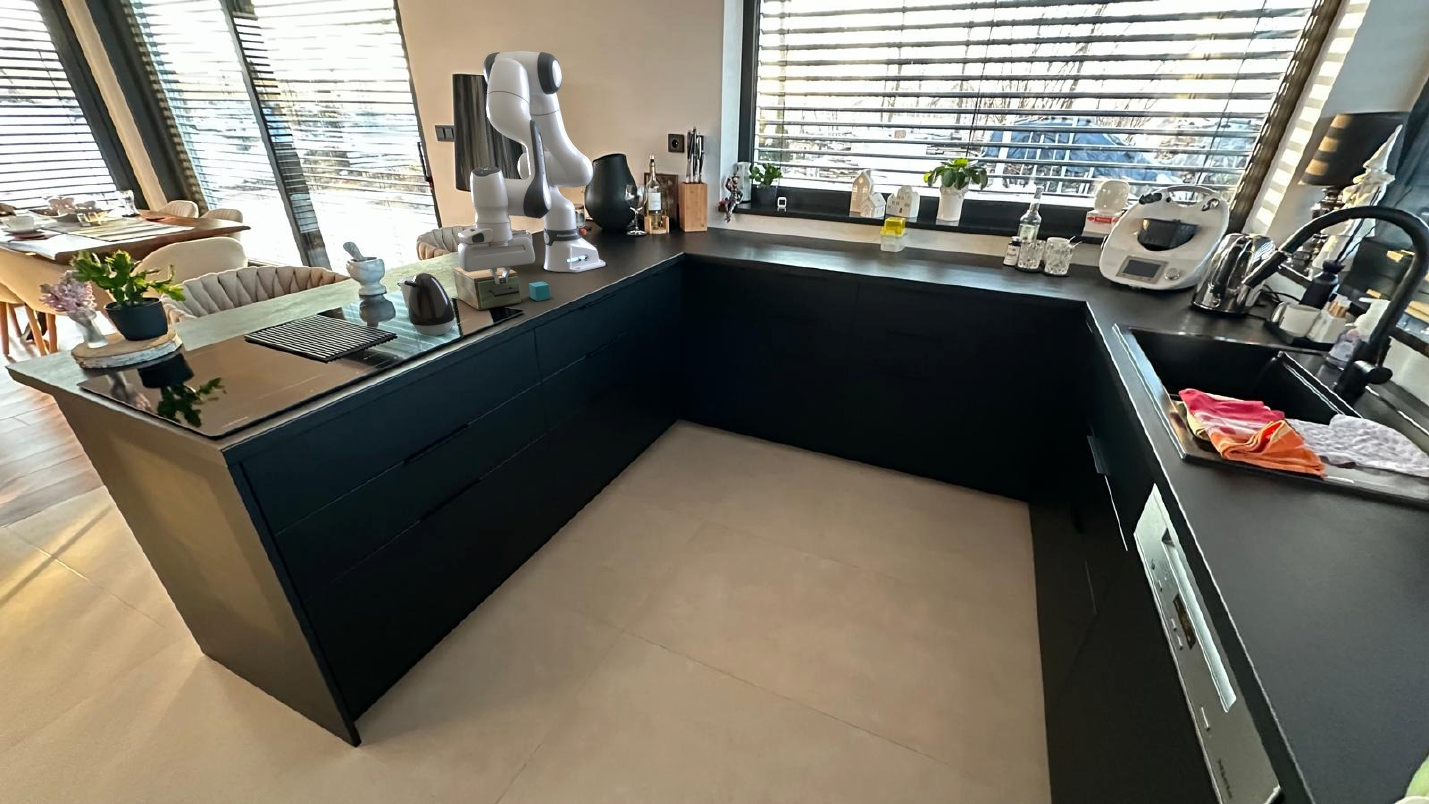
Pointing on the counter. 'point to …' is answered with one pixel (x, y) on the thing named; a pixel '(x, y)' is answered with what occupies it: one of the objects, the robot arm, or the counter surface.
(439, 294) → the pump dispenser
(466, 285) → the wooden drawer box
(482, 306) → the green drawer
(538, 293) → the teal cube
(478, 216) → the robot arm
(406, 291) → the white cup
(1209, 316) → the counter surface
